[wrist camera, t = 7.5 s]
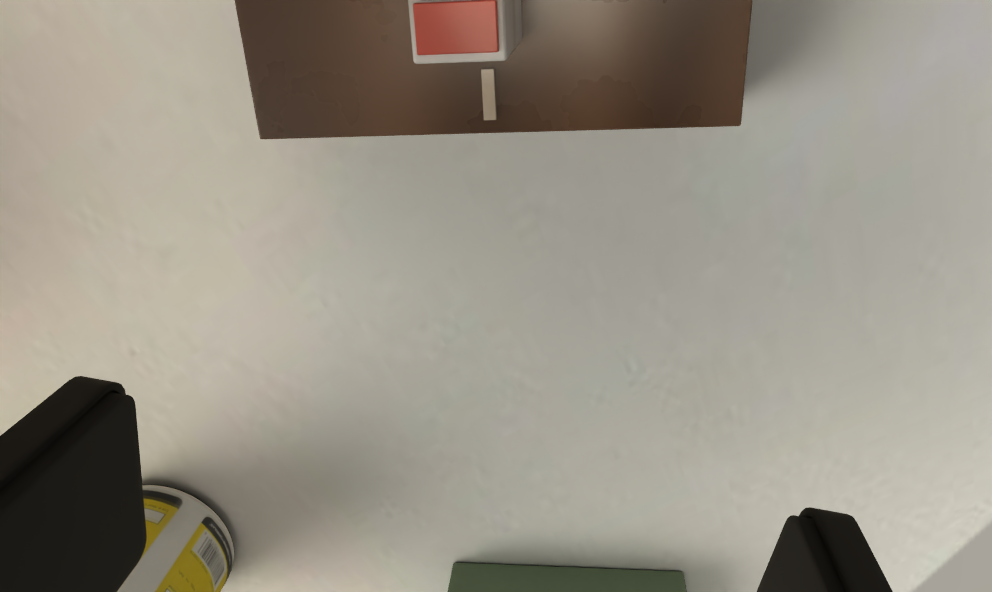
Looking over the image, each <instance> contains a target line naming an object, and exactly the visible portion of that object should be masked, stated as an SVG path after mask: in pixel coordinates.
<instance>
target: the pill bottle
mask: <svg viewBox="0 0 992 592" xmlns="http://www.w3.org/2000/svg"><path fill="white" fill-rule="evenodd" d="M142 488H143V499H144V511H145V522H146V533H147V540H146V546H145V549H144V552H143V554H142V557H141V559H140V561H139V562H138V564H137V565H136V567H135V568H134V569H133V571H132V572H131V573H130V575H129V576H128V577H127V579H126V580H125V581H124V583H123V584H122V586H121V587H120V588H119V590H118V591H117V592H220V591H221V589H222V588H223V586H224V584H225V583H226V580H227V579H228V577H229V574H230V572H231V570H232V566H233V561H234V548H233V543H232V539H231V536H230V534H229V532H228V530H227V528H226V526H225V525H224V523H223V522H222V520H221V519H220V518H219V517H218V515H217V514H216V513H215V512H214V511H213V510H212V509H210V508H209V507H208V506H207V505H205V504H204V503H203V502H201V501H200V500H198V499H196V498H195V497H193V496H191V495H189V494H187V493H185V492H182V491H180V490H176V489H173V488H169V487H164V486H157V485H142Z"/></svg>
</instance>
